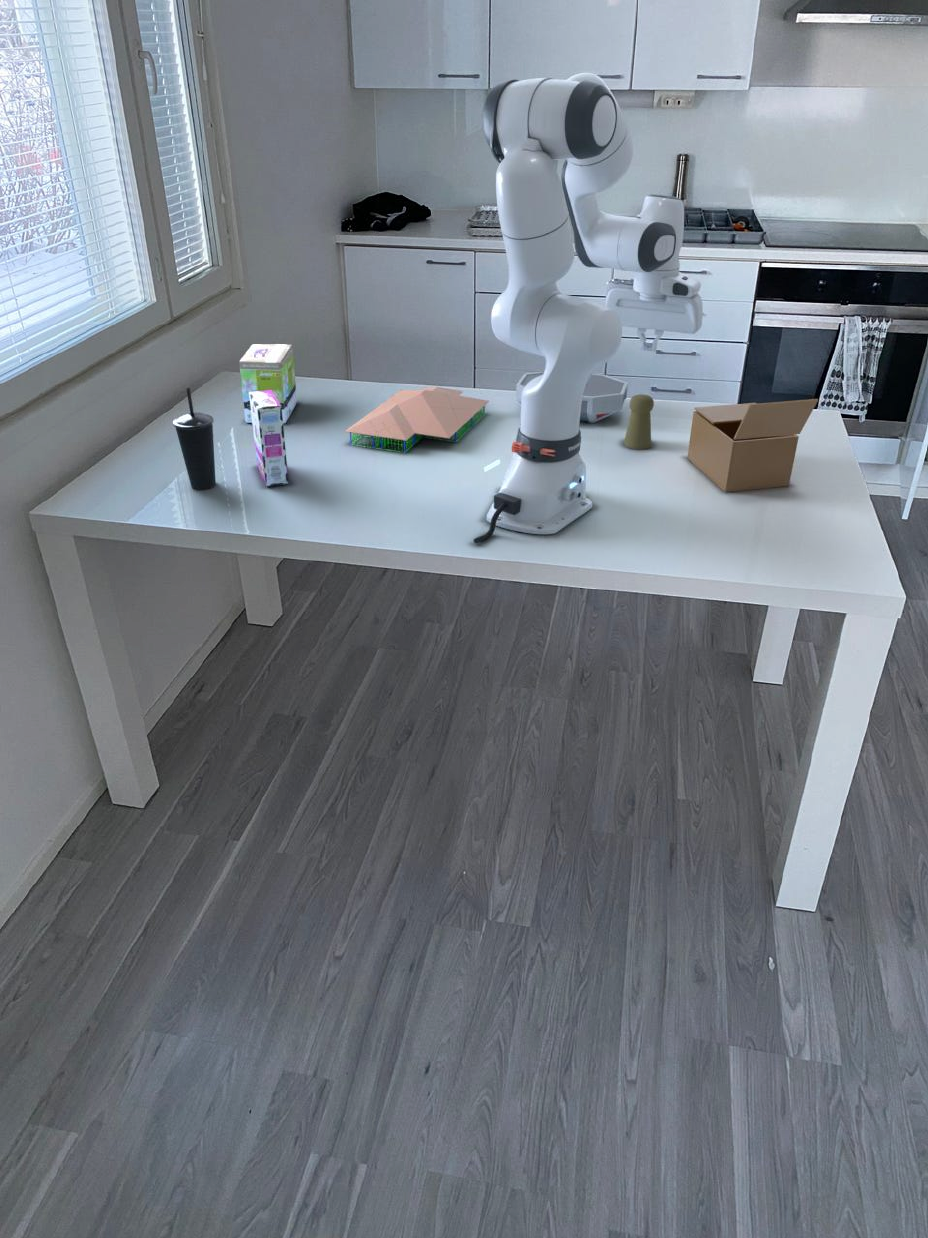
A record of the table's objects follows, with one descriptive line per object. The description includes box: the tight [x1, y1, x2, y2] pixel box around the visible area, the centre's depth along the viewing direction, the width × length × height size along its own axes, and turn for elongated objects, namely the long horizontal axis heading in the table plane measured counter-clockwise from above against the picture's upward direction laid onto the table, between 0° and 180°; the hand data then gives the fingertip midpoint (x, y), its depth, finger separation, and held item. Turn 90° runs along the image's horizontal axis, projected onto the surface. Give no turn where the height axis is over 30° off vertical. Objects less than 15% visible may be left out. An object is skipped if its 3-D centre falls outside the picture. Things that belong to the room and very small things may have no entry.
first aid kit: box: [515, 370, 629, 424], centre depth 222 cm, size 18×8×25 cm
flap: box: [734, 398, 819, 440], centre depth 178 cm, size 9×14×1 cm
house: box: [344, 386, 490, 454], centre depth 214 cm, size 23×33×8 cm
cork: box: [623, 393, 655, 450], centre depth 205 cm, size 6×6×11 cm
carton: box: [686, 402, 800, 493], centre depth 192 cm, size 18×14×11 cm
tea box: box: [239, 343, 298, 424], centre depth 221 cm, size 15×10×15 cm
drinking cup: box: [172, 387, 217, 491], centre depth 183 cm, size 8×8×20 cm
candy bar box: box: [249, 390, 290, 487], centre depth 189 cm, size 11×5×16 cm, turn 20°
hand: (648, 349), depth 196 cm, fingers closed
